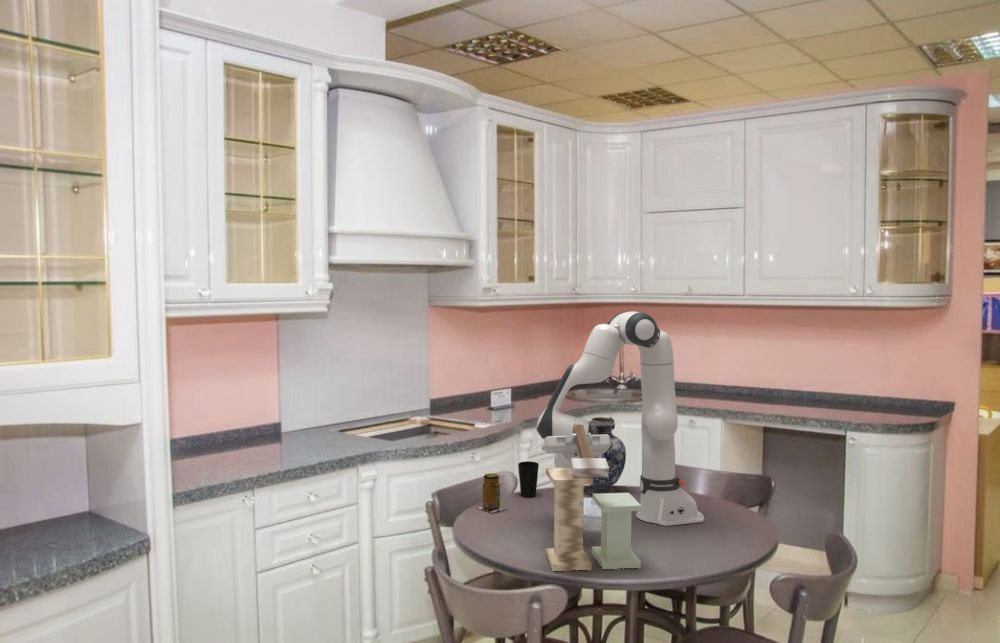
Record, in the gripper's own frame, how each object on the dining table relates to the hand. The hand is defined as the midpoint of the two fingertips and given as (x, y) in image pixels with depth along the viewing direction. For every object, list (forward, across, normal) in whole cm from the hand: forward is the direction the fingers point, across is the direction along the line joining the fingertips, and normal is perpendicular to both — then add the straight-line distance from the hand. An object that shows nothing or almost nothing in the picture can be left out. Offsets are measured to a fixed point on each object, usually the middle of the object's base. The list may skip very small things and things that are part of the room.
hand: (581, 435), depth 235 cm
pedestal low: (-8, +8, +35) cm, 37 cm away
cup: (-66, -8, +2) cm, 67 cm away
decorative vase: (-68, +20, +1) cm, 71 cm away
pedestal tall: (-8, -6, +35) cm, 37 cm away
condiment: (-53, -23, +9) cm, 59 cm away
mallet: (+2, 0, +6) cm, 7 cm away
